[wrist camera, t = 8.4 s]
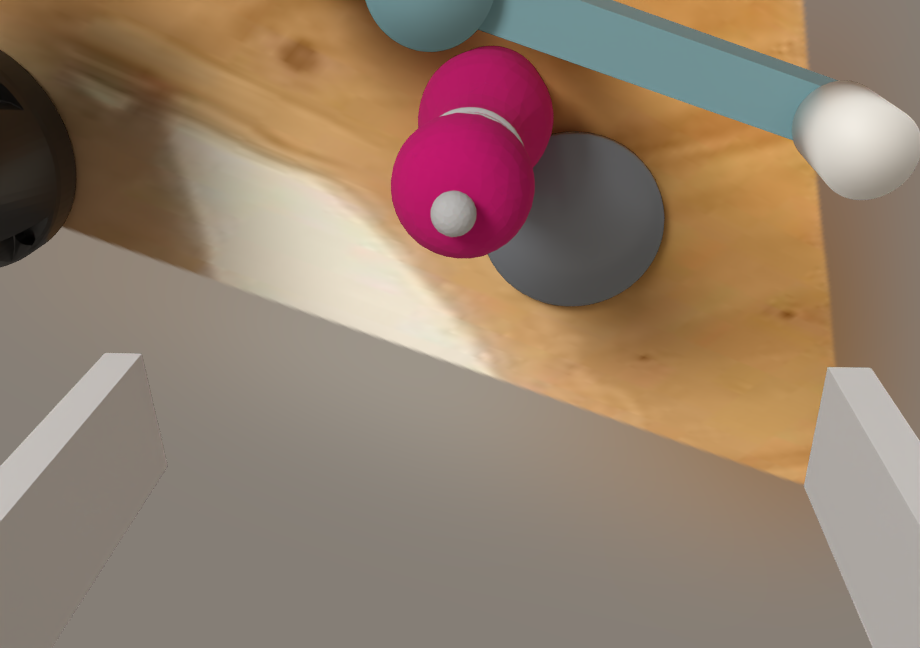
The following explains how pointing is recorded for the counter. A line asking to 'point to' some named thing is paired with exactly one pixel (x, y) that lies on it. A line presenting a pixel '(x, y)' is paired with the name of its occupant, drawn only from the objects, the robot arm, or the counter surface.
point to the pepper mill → (473, 153)
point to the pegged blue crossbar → (689, 77)
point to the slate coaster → (584, 223)
